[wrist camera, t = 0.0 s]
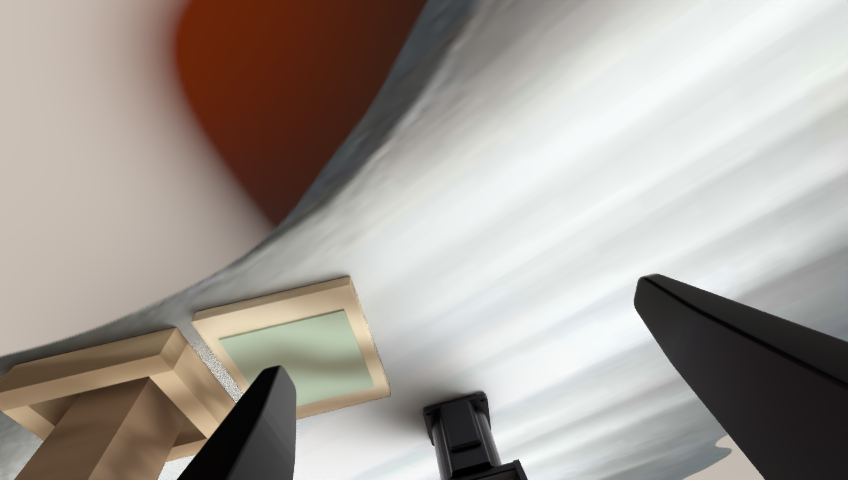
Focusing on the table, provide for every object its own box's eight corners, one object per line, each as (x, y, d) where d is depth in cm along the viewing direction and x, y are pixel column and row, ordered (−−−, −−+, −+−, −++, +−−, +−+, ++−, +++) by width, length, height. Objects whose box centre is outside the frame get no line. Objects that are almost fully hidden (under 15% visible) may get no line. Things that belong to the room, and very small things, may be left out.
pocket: (245, 415, 31) (236, 444, 29) (116, 447, 30) (98, 479, 28) (176, 327, 25) (159, 354, 23) (14, 365, 24) (-19, 397, 22)
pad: (389, 386, 32) (390, 397, 31) (270, 416, 31) (267, 428, 30) (350, 276, 25) (349, 286, 24) (196, 312, 24) (189, 324, 23)
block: (191, 403, 29) (140, 516, 22) (131, 418, 29) (60, 537, 22) (157, 364, 26) (87, 480, 20) (90, 380, 26) (-5, 503, 19)
